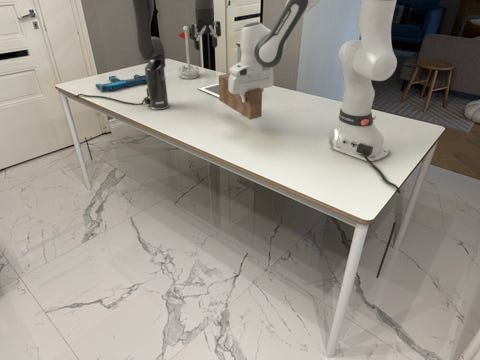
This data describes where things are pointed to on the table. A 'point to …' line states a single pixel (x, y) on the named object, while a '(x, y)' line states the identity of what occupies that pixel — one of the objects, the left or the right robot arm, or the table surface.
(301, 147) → the table surface
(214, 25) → the left robot arm
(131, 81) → the submachine gun
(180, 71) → the flag stand
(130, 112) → the table surface
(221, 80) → the box
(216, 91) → the tablet
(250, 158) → the table surface
